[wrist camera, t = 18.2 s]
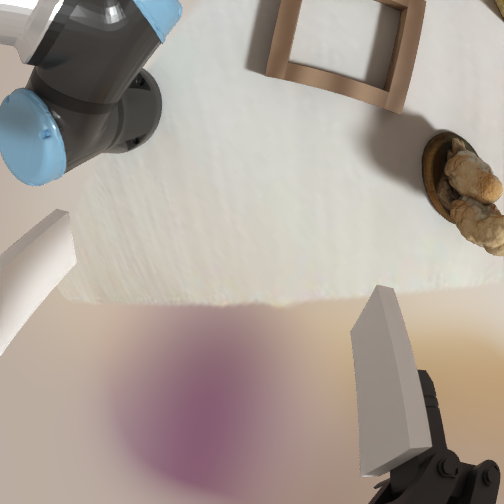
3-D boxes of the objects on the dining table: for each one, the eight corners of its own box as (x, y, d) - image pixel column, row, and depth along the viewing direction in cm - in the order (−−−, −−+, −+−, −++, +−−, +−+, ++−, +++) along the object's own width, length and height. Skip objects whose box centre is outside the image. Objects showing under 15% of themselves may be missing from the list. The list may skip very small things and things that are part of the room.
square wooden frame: (266, 76, 36) (264, 75, 34) (291, -35, 26) (291, -42, 23) (394, 112, 36) (400, 115, 33) (418, 5, 25) (426, 1, 23)
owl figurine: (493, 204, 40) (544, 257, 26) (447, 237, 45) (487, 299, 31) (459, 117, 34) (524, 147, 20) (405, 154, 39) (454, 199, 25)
